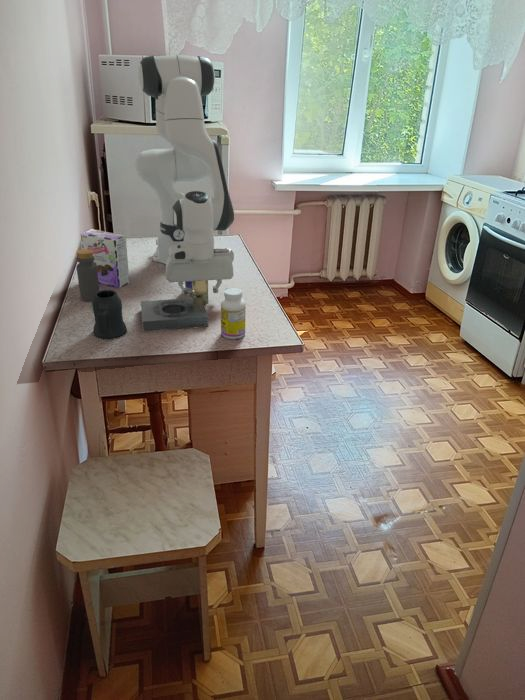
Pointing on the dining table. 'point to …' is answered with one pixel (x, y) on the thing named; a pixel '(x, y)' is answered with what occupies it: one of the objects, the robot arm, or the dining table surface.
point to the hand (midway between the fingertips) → (200, 293)
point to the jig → (173, 314)
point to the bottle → (87, 275)
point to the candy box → (108, 256)
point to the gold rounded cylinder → (200, 290)
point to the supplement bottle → (233, 314)
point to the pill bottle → (188, 286)
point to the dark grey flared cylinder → (108, 315)
